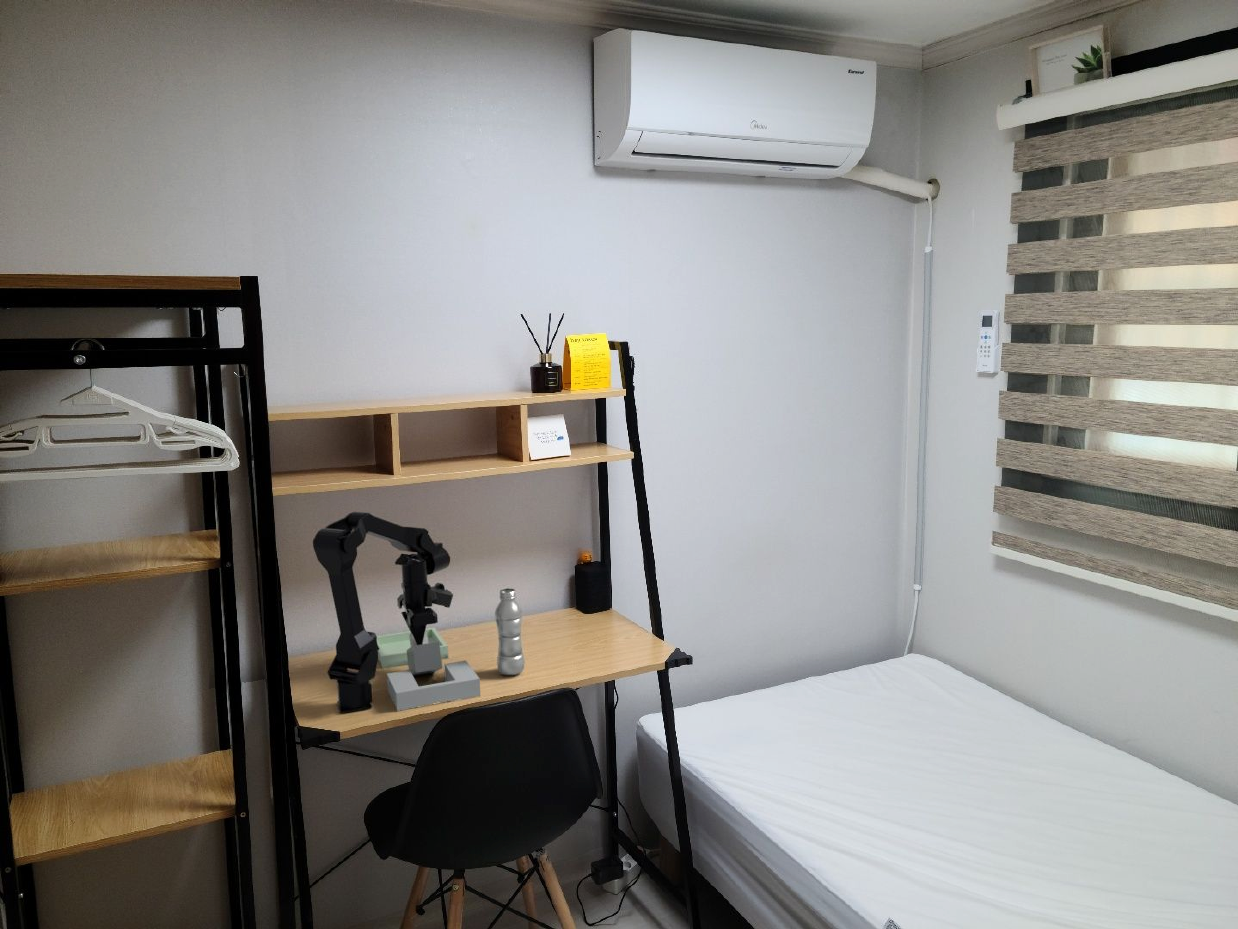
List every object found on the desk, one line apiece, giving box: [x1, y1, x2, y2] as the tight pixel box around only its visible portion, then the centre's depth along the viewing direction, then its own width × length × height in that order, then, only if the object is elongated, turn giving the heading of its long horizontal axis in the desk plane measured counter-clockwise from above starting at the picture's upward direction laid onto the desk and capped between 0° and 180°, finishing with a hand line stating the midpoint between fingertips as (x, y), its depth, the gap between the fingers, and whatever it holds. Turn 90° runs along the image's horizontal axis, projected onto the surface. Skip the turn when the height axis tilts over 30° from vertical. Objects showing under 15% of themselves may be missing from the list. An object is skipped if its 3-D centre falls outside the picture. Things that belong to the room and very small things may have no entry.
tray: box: [376, 627, 450, 669], centre depth 225 cm, size 16×16×3 cm
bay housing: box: [386, 659, 481, 712], centre depth 199 cm, size 18×12×4 cm
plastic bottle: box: [494, 587, 526, 676], centre depth 209 cm, size 6×7×20 cm
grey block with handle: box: [407, 632, 443, 676], centre depth 208 cm, size 6×10×10 cm, turn 23°
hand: (418, 643), depth 212 cm, fingers closed on grey block with handle, 2 cm apart
